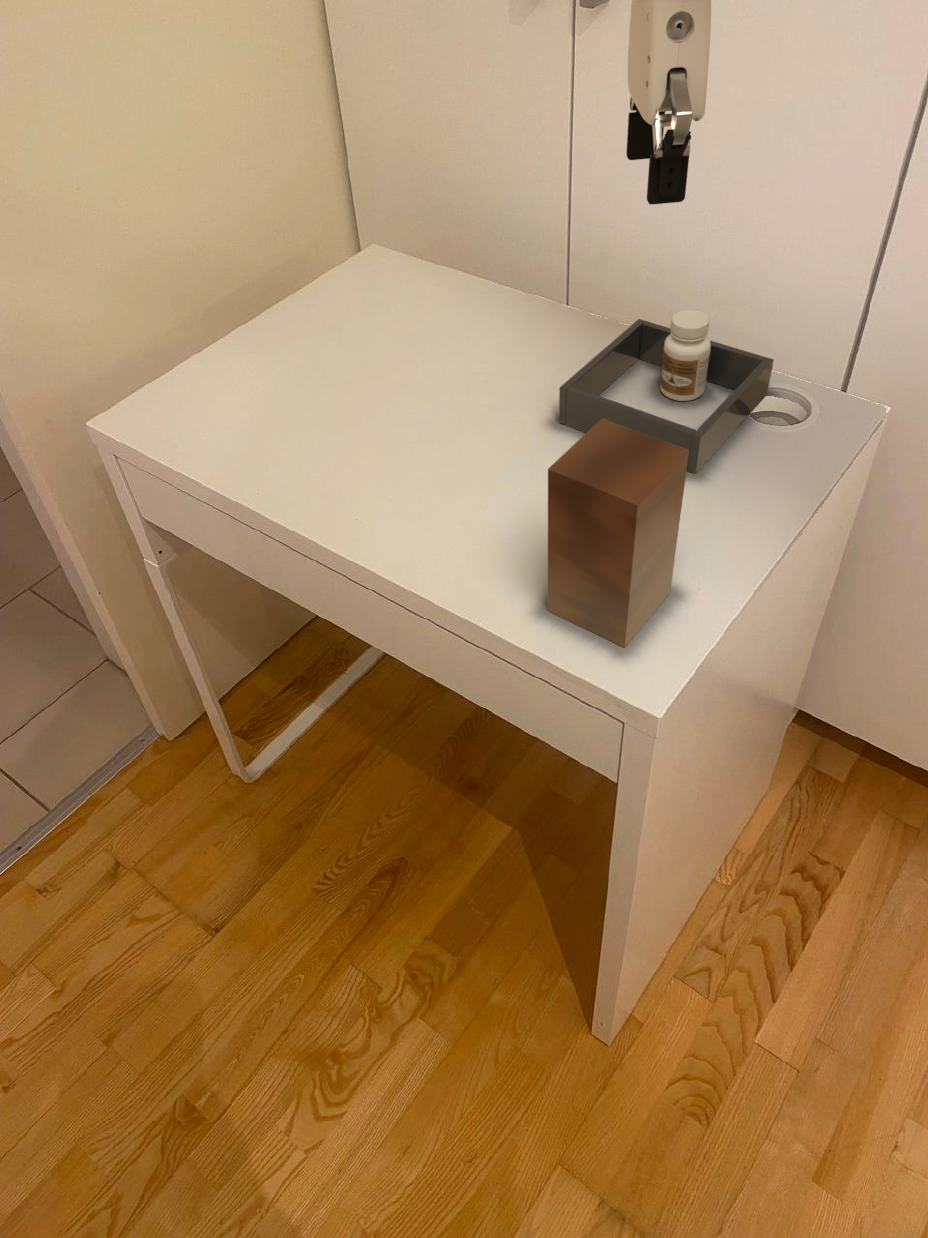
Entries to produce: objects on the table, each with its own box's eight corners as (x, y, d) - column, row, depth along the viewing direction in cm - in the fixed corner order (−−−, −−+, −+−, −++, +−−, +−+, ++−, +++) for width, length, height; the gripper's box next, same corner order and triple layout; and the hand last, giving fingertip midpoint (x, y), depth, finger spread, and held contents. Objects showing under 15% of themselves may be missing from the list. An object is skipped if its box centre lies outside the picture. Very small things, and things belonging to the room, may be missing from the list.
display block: (670, 593, 76) (689, 449, 65) (624, 648, 72) (637, 505, 62) (594, 559, 79) (601, 417, 69) (547, 610, 75) (547, 468, 65)
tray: (766, 395, 93) (774, 359, 90) (695, 474, 86) (700, 437, 83) (636, 353, 100) (638, 318, 97) (558, 422, 92) (559, 387, 89)
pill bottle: (651, 393, 95) (657, 322, 89) (673, 372, 97) (680, 302, 91) (691, 407, 93) (700, 335, 87) (712, 385, 95) (723, 314, 89)
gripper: (750, -25, 67) (719, 216, 80) (695, -78, 79) (675, 139, 92) (644, -15, 67) (629, 224, 80) (604, -70, 79) (597, 146, 92)
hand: (654, 178), depth 86 cm, fingers open, 9 cm apart
